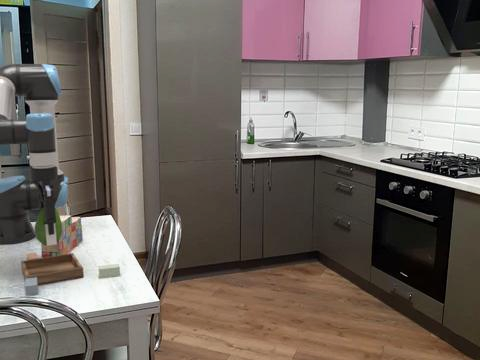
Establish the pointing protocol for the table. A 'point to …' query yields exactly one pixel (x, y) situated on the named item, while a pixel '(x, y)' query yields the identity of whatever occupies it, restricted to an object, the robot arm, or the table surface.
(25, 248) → the table surface
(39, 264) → the tray
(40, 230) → the fruit
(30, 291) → the slate brick
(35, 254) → the terracotta brick
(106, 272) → the sage brick
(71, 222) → the stack of blocks
